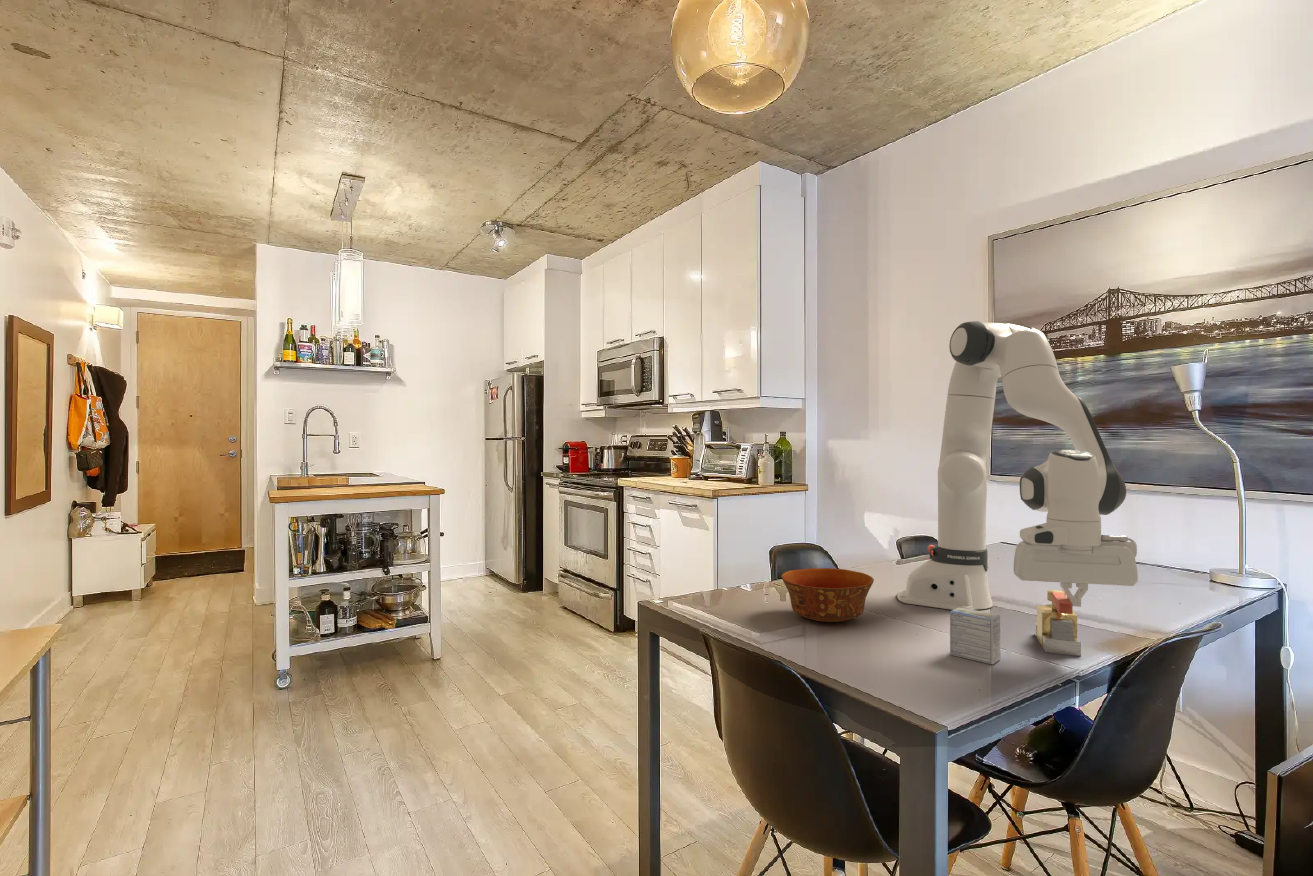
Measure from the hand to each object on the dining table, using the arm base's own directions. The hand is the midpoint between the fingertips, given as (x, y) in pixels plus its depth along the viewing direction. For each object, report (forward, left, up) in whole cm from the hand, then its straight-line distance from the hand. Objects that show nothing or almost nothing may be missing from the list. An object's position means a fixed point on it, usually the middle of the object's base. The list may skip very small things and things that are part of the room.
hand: (1073, 605), depth 122 cm
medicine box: (-18, -8, -10) cm, 22 cm away
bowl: (-48, +8, -10) cm, 49 cm away
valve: (-2, +7, -10) cm, 12 cm away
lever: (-2, +3, -1) cm, 3 cm away
